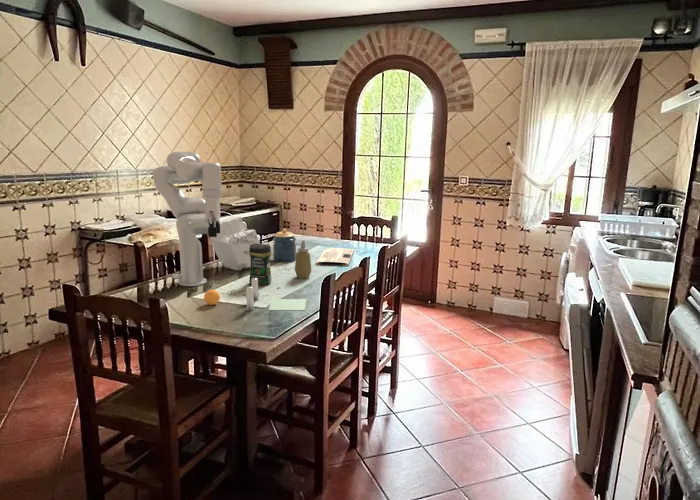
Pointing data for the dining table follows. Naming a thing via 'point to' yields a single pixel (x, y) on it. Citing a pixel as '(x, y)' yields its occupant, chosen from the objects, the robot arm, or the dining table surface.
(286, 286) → the dining table surface
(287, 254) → the canister
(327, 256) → the newspaper
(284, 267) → the dining table surface
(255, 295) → the post
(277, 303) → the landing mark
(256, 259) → the coffee jar
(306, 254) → the squeeze bottle
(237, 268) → the white lumpy block
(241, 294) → the dining table surface
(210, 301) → the ball
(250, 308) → the post
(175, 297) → the dining table surface
